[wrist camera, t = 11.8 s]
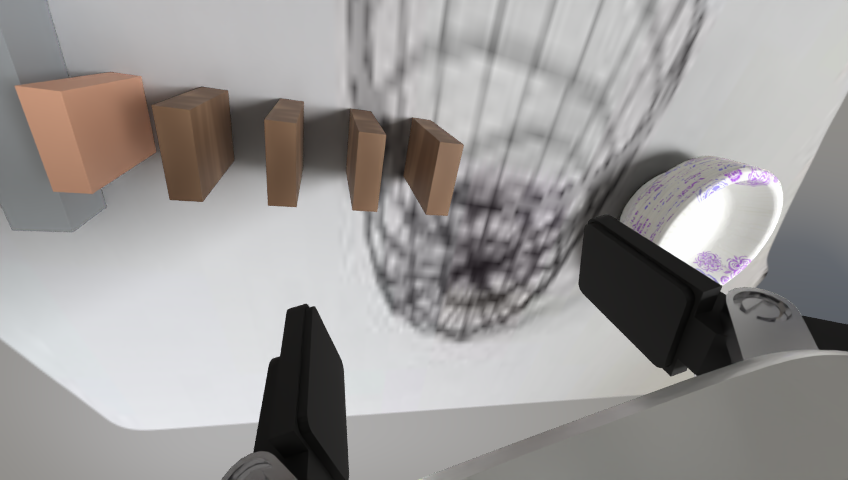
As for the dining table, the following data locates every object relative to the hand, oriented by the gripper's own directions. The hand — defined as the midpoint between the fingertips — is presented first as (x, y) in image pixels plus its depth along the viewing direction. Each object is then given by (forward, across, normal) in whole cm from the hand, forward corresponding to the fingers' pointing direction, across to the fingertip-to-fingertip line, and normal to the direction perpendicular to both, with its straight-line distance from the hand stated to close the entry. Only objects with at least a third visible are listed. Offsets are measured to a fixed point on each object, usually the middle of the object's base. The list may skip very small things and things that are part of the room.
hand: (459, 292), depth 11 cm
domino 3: (+20, +6, -2) cm, 21 cm away
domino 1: (+20, +16, -6) cm, 26 cm away
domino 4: (+20, +2, 0) cm, 20 cm away
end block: (+20, +20, -7) cm, 29 cm away
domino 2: (+20, +11, -4) cm, 23 cm away
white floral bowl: (+20, -30, +16) cm, 39 cm away
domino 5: (+20, -3, +1) cm, 20 cm away
